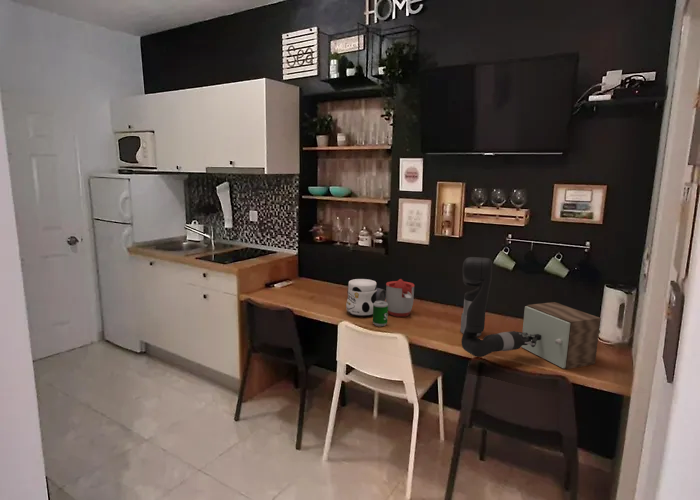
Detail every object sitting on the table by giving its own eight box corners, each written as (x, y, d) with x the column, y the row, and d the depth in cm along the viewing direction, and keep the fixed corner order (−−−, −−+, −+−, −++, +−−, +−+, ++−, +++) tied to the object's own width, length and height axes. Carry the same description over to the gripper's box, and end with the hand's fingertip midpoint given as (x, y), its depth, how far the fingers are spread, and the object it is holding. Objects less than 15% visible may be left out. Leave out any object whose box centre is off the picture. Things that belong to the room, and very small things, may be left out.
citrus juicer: (395, 320, 233) (396, 284, 229) (379, 311, 248) (381, 276, 245) (420, 317, 239) (422, 281, 235) (403, 308, 254) (405, 274, 251)
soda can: (381, 328, 221) (381, 305, 219) (369, 324, 226) (370, 301, 224) (390, 324, 226) (391, 302, 224) (378, 321, 231) (379, 299, 229)
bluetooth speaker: (346, 300, 269) (346, 284, 267) (355, 296, 276) (355, 281, 275) (378, 307, 256) (379, 290, 254) (386, 303, 264) (387, 287, 262)
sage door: (560, 368, 177) (565, 323, 174) (518, 347, 199) (522, 306, 196) (565, 367, 178) (570, 323, 175) (523, 346, 200) (526, 306, 197)
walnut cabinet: (566, 369, 178) (571, 321, 175) (523, 347, 200) (527, 305, 197) (594, 363, 184) (600, 318, 181) (550, 343, 206) (554, 302, 203)
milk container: (340, 314, 240) (340, 282, 237) (356, 307, 255) (357, 276, 252) (367, 320, 231) (368, 287, 228) (382, 312, 246) (384, 281, 243)
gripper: (519, 338, 176) (552, 333, 182) (497, 327, 188) (529, 323, 194) (517, 355, 177) (550, 350, 183) (495, 344, 189) (527, 339, 195)
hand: (539, 336), depth 189 cm, fingers closed
